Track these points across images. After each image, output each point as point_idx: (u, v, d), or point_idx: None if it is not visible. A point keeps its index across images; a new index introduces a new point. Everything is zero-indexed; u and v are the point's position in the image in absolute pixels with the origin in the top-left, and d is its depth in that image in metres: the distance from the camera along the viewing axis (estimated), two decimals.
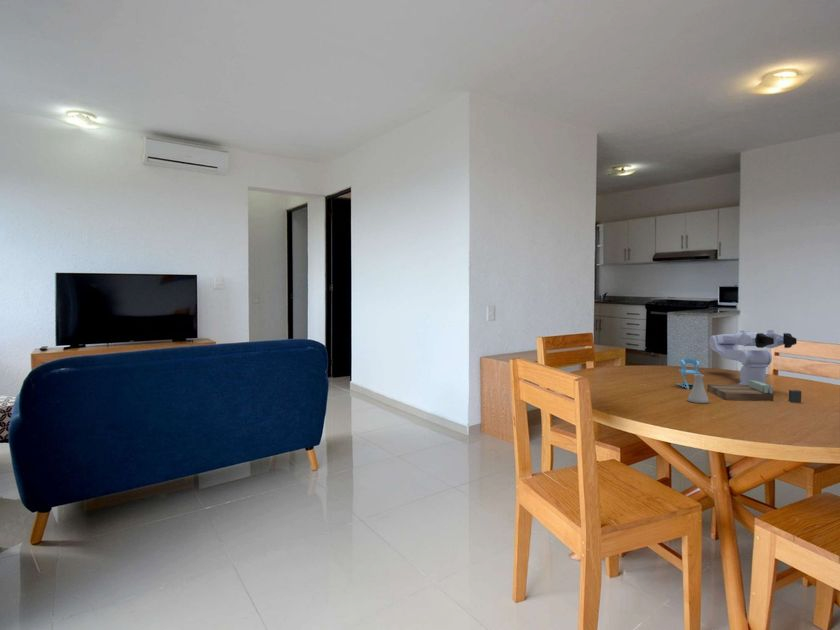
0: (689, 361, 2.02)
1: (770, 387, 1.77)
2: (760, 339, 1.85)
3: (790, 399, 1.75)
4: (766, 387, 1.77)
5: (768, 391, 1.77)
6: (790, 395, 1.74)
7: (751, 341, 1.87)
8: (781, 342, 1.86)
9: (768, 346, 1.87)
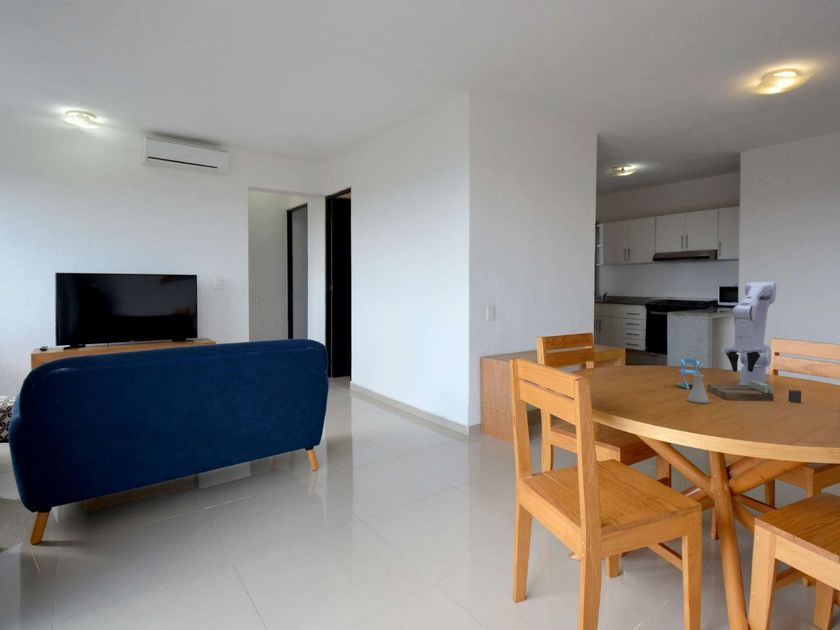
0: (689, 361, 2.02)
1: (770, 387, 1.77)
2: None
3: (790, 399, 1.75)
4: (766, 387, 1.77)
5: (768, 391, 1.77)
6: (790, 395, 1.74)
7: (722, 350, 1.86)
8: None
9: None
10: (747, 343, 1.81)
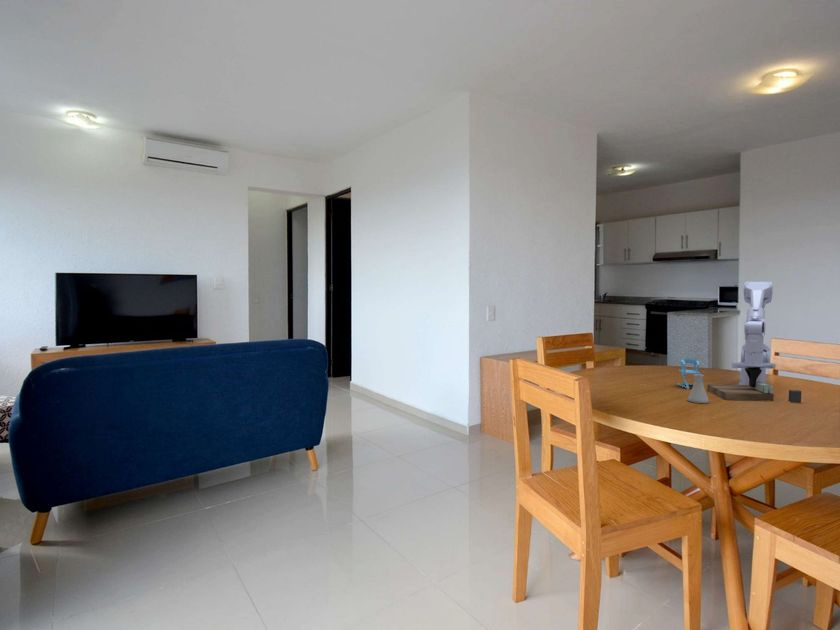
0: (689, 361, 2.02)
1: (770, 387, 1.77)
2: None
3: (790, 399, 1.75)
4: (766, 387, 1.77)
5: (768, 391, 1.77)
6: (790, 395, 1.74)
7: (732, 365, 1.86)
8: None
9: None
10: (757, 358, 1.81)
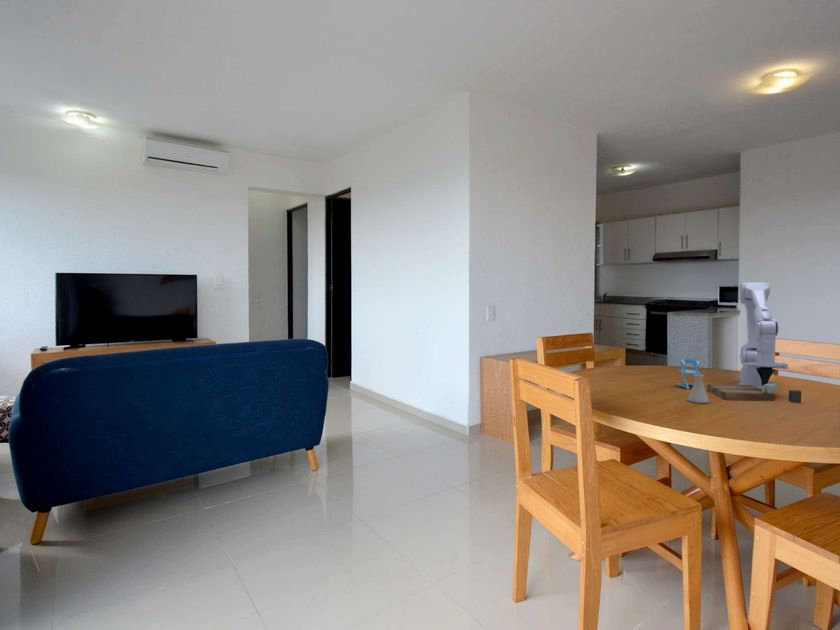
0: (689, 361, 2.02)
1: (767, 387, 1.77)
2: None
3: (790, 399, 1.75)
4: (763, 386, 1.78)
5: (765, 391, 1.77)
6: (790, 395, 1.74)
7: (743, 365, 1.85)
8: None
9: None
10: (769, 358, 1.81)
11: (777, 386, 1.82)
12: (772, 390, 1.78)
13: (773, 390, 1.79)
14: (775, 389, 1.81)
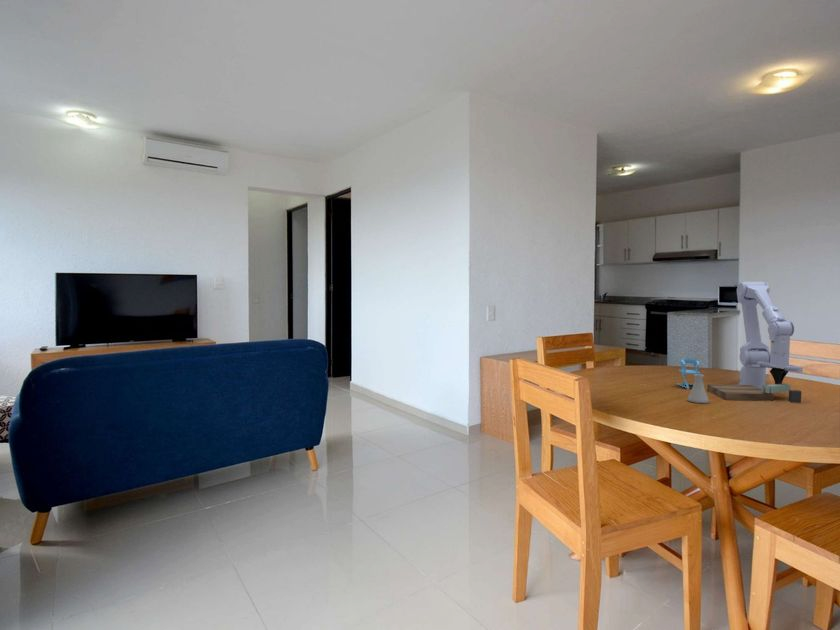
0: (689, 361, 2.02)
1: (765, 387, 1.77)
2: None
3: (790, 399, 1.75)
4: (762, 386, 1.78)
5: (763, 390, 1.78)
6: (790, 395, 1.74)
7: None
8: None
9: None
10: (775, 359, 1.80)
11: (787, 388, 1.79)
12: (773, 391, 1.77)
13: (776, 391, 1.78)
14: (781, 390, 1.78)
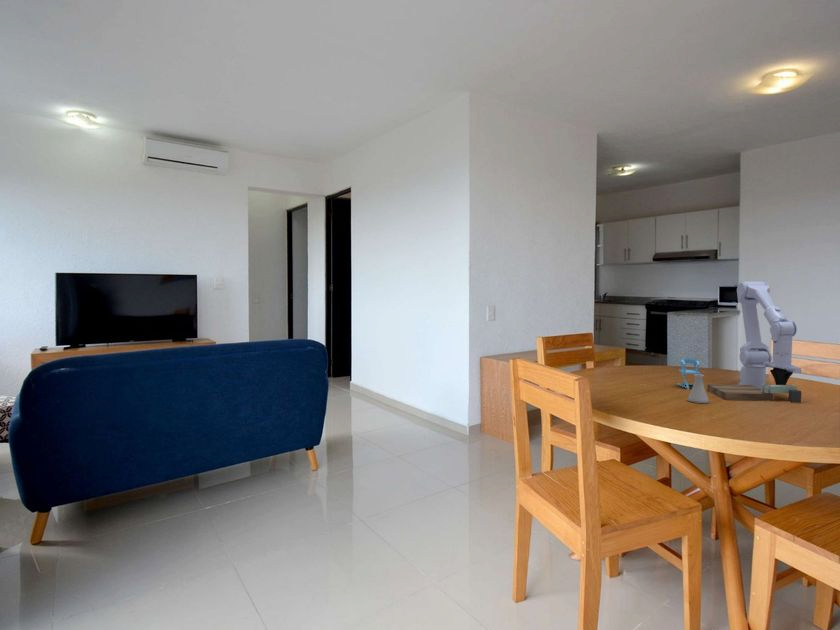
0: (689, 361, 2.02)
1: (764, 387, 1.78)
2: None
3: (790, 399, 1.75)
4: (762, 386, 1.79)
5: (763, 390, 1.78)
6: (790, 395, 1.74)
7: None
8: None
9: None
10: (775, 359, 1.80)
11: (792, 389, 1.76)
12: (774, 391, 1.77)
13: (777, 391, 1.77)
14: (785, 391, 1.77)
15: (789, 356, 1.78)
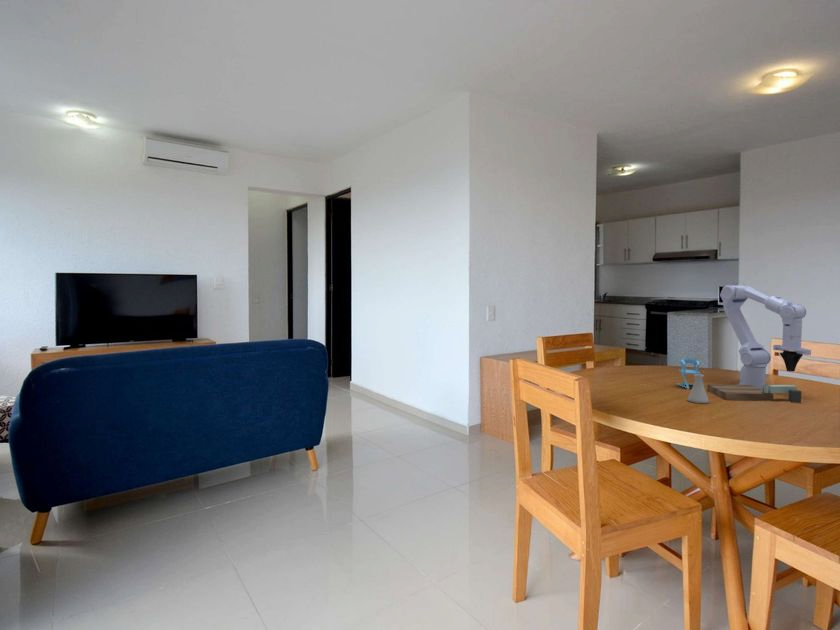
0: (689, 361, 2.02)
1: (764, 387, 1.78)
2: None
3: (790, 399, 1.75)
4: (762, 386, 1.79)
5: (763, 390, 1.78)
6: (790, 395, 1.74)
7: None
8: None
9: None
10: (785, 341, 1.83)
11: (792, 389, 1.76)
12: (774, 391, 1.77)
13: (777, 391, 1.77)
14: (785, 392, 1.77)
15: (799, 339, 1.81)
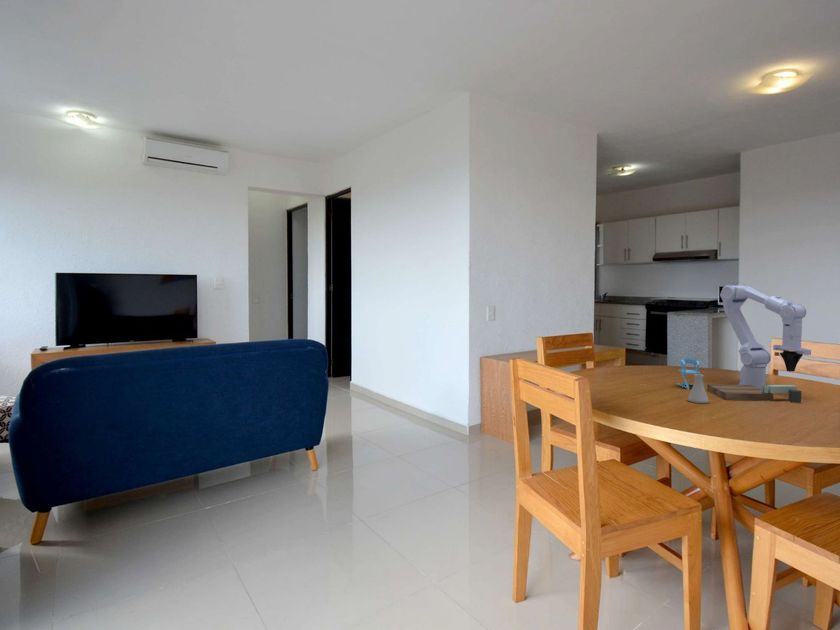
0: (689, 361, 2.02)
1: (764, 387, 1.78)
2: None
3: (790, 399, 1.75)
4: (762, 386, 1.79)
5: (763, 390, 1.78)
6: (790, 395, 1.74)
7: None
8: None
9: None
10: (785, 341, 1.83)
11: (792, 389, 1.76)
12: (774, 391, 1.77)
13: (777, 391, 1.77)
14: (785, 392, 1.77)
15: (799, 339, 1.81)
